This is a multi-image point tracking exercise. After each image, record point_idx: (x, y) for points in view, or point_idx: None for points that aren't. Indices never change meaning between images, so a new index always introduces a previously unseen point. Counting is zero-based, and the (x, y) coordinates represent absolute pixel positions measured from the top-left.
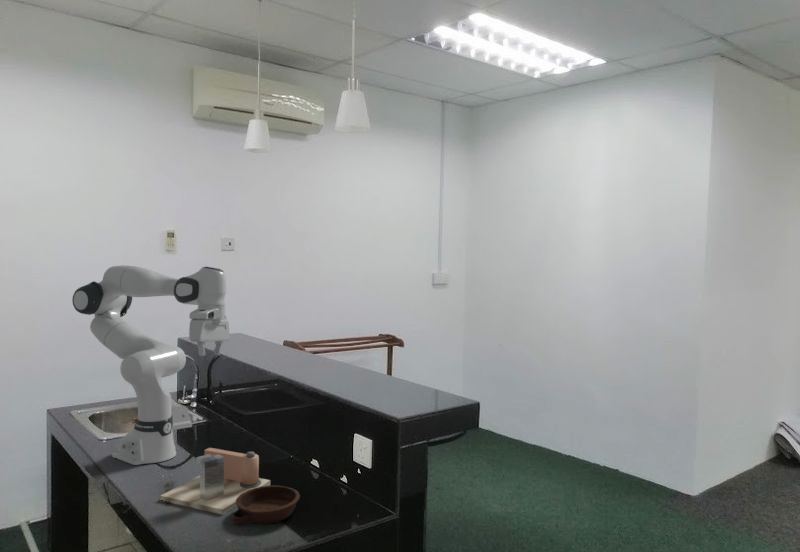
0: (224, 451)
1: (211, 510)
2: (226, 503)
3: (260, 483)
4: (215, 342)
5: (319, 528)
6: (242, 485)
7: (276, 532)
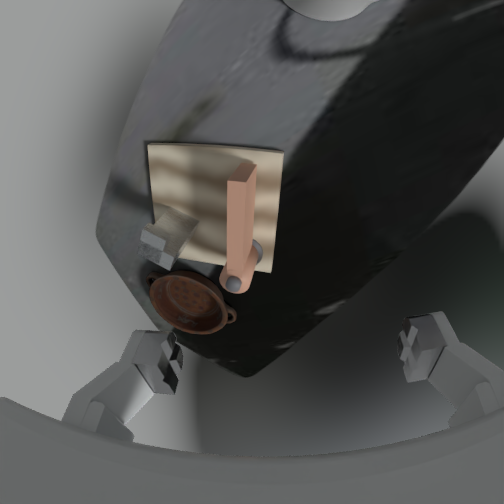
0: (238, 225)
1: None
2: None
3: None
4: (478, 404)
5: (192, 340)
6: None
7: None
